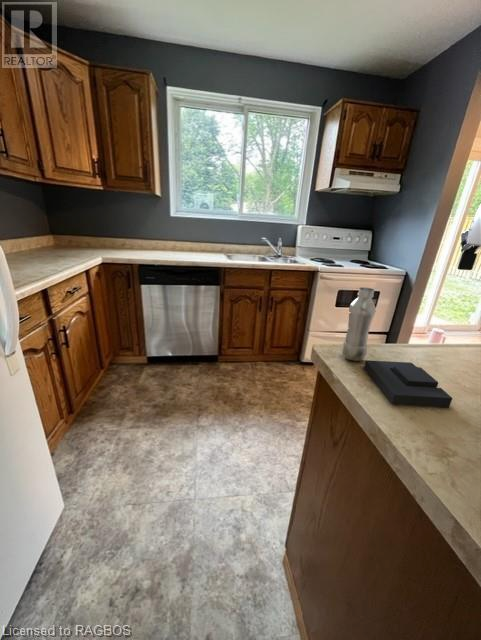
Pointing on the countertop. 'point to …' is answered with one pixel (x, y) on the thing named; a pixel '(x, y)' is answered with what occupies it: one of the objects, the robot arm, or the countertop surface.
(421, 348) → the countertop surface
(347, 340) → the plastic bottle
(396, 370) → the black pad
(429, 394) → the notched tile
